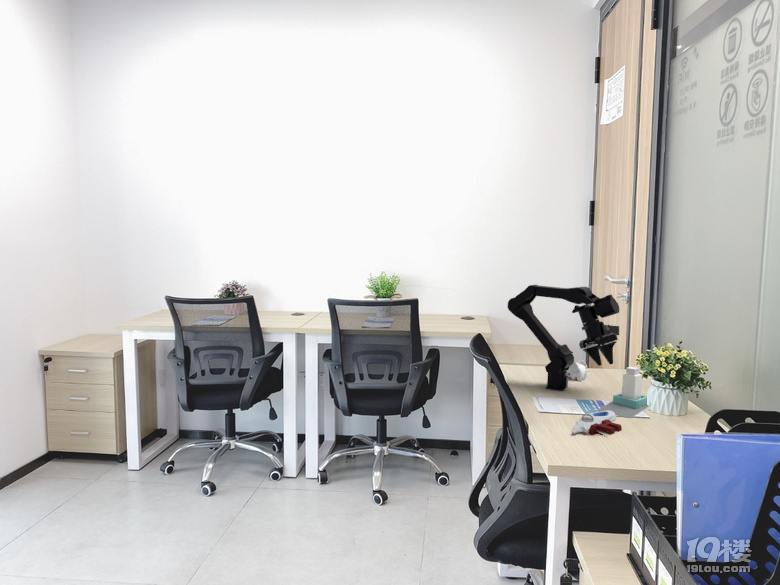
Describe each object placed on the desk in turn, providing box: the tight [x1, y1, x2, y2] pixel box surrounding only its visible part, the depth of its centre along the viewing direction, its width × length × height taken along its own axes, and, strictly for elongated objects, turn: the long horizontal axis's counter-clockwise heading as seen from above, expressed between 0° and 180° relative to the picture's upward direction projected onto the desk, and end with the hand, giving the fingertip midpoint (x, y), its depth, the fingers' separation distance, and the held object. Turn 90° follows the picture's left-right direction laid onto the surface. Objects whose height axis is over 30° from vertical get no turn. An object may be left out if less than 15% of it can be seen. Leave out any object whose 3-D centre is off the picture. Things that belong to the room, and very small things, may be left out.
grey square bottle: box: [621, 366, 643, 400], centre depth 205 cm, size 4×4×12 cm
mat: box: [595, 400, 650, 419], centre depth 202 cm, size 21×11×1 cm, turn 139°
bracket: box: [589, 419, 623, 438], centre depth 180 cm, size 3×6×10 cm
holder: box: [612, 392, 647, 409], centre depth 206 cm, size 8×8×2 cm
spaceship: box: [571, 410, 617, 435], centre depth 186 cm, size 23×7×4 cm, turn 132°
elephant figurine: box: [566, 359, 589, 382], centre depth 241 cm, size 8×10×7 cm
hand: (605, 364), depth 215 cm, fingers open, 9 cm apart
